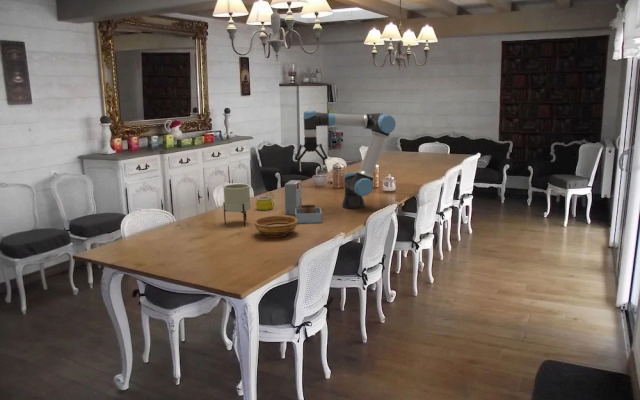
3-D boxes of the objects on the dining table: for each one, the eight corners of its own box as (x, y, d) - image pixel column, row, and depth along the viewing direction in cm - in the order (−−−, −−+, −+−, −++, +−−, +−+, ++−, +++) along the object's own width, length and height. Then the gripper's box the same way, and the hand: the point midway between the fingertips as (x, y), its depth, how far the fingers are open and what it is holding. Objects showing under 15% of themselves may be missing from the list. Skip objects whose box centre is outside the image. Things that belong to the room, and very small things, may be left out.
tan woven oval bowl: (279, 244, 280) (279, 229, 278) (242, 238, 291) (241, 224, 290) (308, 230, 305) (308, 216, 303) (273, 225, 316) (273, 212, 315)
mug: (253, 210, 357) (252, 192, 354) (261, 207, 367) (260, 189, 364) (270, 211, 352) (269, 193, 350) (277, 208, 362) (277, 190, 360)
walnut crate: (315, 217, 332) (315, 204, 330) (315, 220, 323) (315, 207, 321) (300, 217, 331) (300, 205, 330) (301, 221, 323) (300, 208, 321)
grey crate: (320, 216, 335) (320, 207, 334) (321, 222, 320) (321, 213, 319) (295, 217, 335) (295, 208, 333) (295, 223, 319) (295, 214, 318)
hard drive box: (296, 215, 341) (295, 184, 337) (285, 214, 343) (283, 184, 339) (302, 209, 356) (301, 180, 352) (291, 209, 358) (290, 179, 353)
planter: (256, 221, 328) (254, 184, 323) (242, 227, 314) (240, 189, 309) (235, 219, 334) (233, 183, 329) (220, 225, 320) (218, 187, 315)
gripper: (330, 135, 332) (331, 169, 336) (290, 136, 331) (291, 170, 335) (331, 136, 324) (331, 171, 329) (289, 137, 324) (291, 172, 328)
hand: (311, 170), depth 332 cm, fingers open, 13 cm apart
